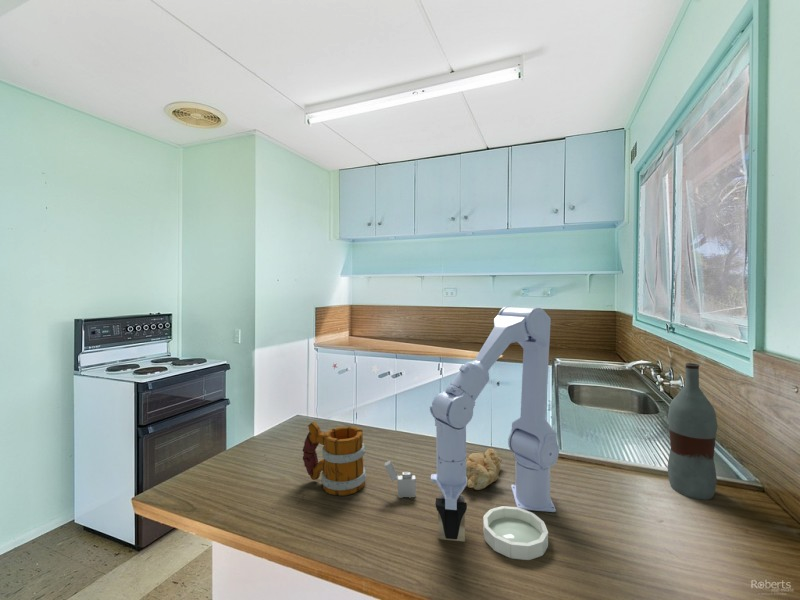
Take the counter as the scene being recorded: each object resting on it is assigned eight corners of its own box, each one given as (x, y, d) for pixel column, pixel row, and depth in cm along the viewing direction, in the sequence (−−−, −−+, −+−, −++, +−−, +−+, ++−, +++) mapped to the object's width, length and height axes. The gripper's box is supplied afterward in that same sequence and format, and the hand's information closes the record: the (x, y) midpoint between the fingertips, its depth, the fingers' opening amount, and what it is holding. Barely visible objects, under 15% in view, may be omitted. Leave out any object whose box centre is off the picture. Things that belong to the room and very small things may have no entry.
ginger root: (448, 492, 83) (448, 455, 84) (442, 474, 98) (442, 443, 100) (517, 495, 82) (515, 458, 84) (500, 477, 98) (499, 446, 99)
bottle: (715, 506, 79) (716, 370, 78) (664, 490, 85) (665, 364, 84) (717, 489, 85) (719, 363, 85) (670, 475, 92) (670, 358, 91)
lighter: (415, 493, 85) (415, 459, 85) (415, 497, 83) (415, 463, 83) (385, 493, 85) (384, 460, 84) (384, 497, 83) (384, 463, 83)
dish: (481, 515, 76) (481, 504, 76) (539, 520, 74) (539, 509, 74) (486, 555, 64) (486, 542, 64) (554, 562, 63) (554, 548, 63)
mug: (359, 499, 82) (358, 434, 82) (293, 491, 86) (292, 429, 85) (372, 475, 93) (371, 418, 93) (313, 470, 96) (312, 414, 96)
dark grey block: (439, 528, 72) (438, 494, 72) (464, 531, 71) (464, 496, 71) (438, 538, 69) (438, 502, 69) (464, 541, 68) (464, 505, 68)
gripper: (432, 439, 78) (433, 501, 78) (427, 472, 63) (428, 548, 63) (466, 441, 76) (466, 504, 77) (468, 475, 62) (468, 552, 62)
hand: (451, 524), depth 70 cm, fingers open, 7 cm apart
